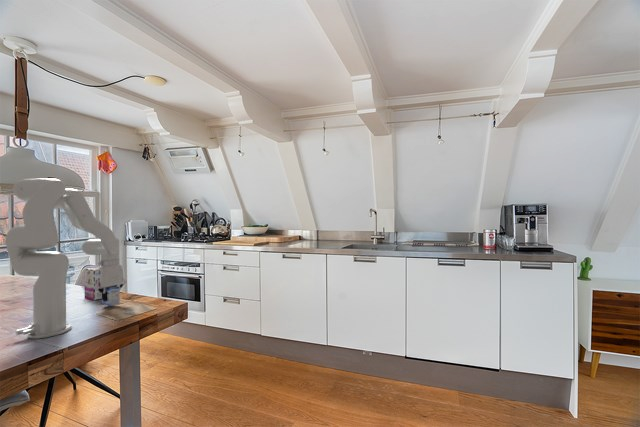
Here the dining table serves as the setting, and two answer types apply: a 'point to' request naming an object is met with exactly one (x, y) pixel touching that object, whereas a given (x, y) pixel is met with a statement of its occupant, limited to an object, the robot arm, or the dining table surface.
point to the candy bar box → (91, 284)
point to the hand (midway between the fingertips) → (110, 299)
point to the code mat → (126, 311)
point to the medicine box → (112, 296)
